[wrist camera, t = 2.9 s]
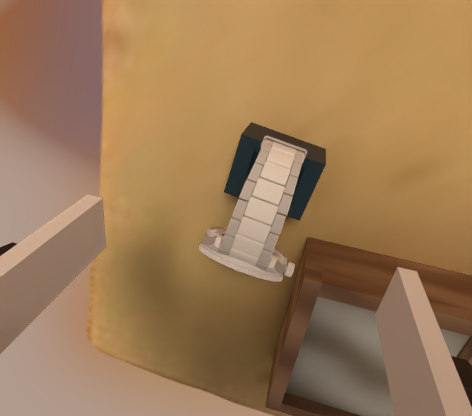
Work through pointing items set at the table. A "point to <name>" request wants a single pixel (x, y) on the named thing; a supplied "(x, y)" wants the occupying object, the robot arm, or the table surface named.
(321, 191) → the table surface
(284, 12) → the table surface
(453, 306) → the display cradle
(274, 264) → the watch
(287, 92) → the table surface
